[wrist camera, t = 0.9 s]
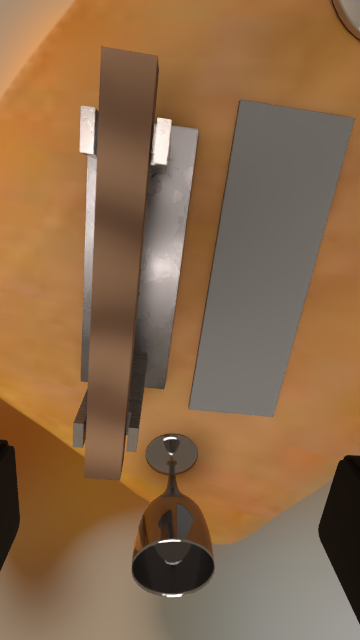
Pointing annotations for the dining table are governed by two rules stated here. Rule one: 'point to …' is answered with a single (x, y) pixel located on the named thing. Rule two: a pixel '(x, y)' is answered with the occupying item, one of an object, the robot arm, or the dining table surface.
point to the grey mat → (265, 252)
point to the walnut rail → (117, 249)
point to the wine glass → (172, 528)
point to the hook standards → (144, 260)
